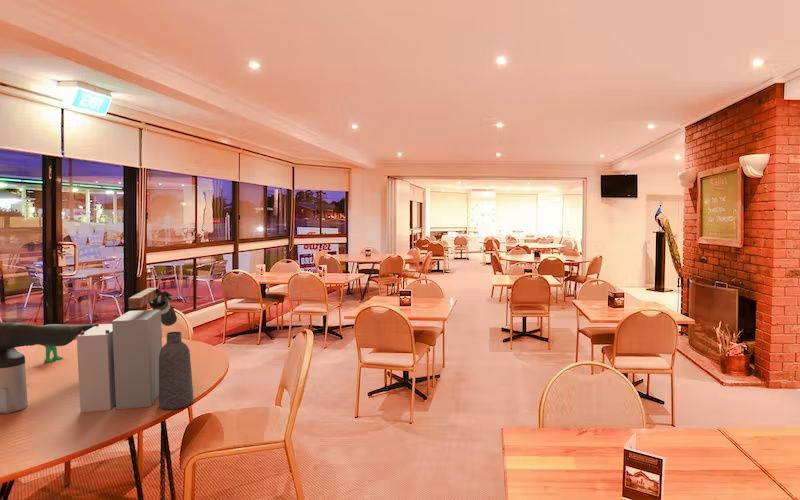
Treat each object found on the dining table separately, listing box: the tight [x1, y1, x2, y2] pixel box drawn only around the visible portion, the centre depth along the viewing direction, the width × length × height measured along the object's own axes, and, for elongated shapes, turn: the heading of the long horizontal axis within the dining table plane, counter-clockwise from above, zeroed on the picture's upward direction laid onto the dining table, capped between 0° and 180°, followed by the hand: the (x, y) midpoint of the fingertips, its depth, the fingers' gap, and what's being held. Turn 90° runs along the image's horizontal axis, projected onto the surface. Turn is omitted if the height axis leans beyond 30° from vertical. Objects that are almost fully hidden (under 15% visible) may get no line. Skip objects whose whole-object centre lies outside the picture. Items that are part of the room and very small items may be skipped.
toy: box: [27, 345, 64, 363], centre depth 240 cm, size 26×6×15 cm, turn 168°
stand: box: [76, 309, 163, 413], centre depth 187 cm, size 20×24×34 cm
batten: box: [127, 287, 158, 310], centre depth 197 cm, size 28×4×4 cm, turn 14°
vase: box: [158, 331, 194, 411], centre depth 183 cm, size 12×12×28 cm
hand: (150, 290), depth 206 cm, fingers closed on batten, 4 cm apart
